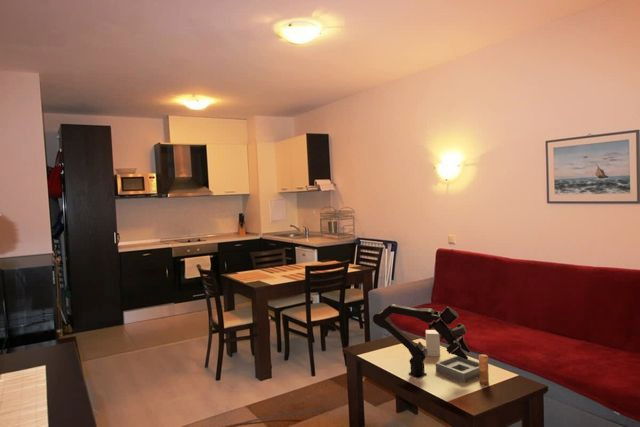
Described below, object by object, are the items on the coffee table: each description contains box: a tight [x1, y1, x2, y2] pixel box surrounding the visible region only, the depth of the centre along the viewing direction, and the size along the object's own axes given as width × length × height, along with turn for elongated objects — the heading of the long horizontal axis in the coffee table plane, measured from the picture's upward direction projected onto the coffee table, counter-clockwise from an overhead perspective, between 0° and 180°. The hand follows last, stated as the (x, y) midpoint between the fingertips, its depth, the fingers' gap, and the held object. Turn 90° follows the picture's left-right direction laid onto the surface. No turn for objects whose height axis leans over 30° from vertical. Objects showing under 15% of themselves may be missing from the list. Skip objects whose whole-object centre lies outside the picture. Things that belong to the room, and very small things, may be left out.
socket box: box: [435, 355, 479, 384], centre depth 216 cm, size 17×17×4 cm
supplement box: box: [425, 329, 441, 357], centre depth 243 cm, size 7×7×13 cm
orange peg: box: [478, 354, 490, 386], centre depth 203 cm, size 4×4×13 cm
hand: (468, 355), depth 206 cm, fingers open, 9 cm apart
